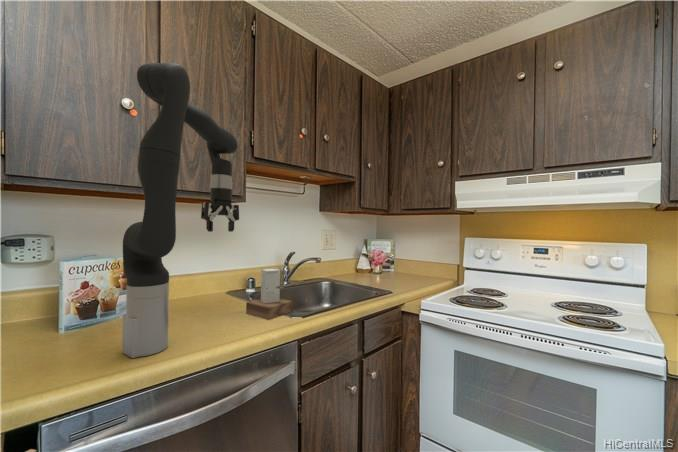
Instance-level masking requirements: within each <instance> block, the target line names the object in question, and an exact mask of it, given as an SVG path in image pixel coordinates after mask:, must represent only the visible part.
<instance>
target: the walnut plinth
mask: <svg viewBox="0 0 678 452" xmlns="http://www.w3.org/2000/svg"><path fill="white" fill-rule="evenodd" d="M293 302H294V301H293V300H290V299H285V298H281V297H280V298H279V302H273V303H266V304H264V303H263V302H261V298H259V299H255V300H252V301H251V300H250V301H247V302H246V303H245V304H246V305H245V307H246V309H245V310H246V311H245V314H247V315H251V316H254V317H258V318H260V319H265V320H272V319H275V318H277V317H280V316H283V315H287V314H289V313H288V312H290V313H293V311H294V310H293V308H294V307H293V305H294V303H293Z"/></svg>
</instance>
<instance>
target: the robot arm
mask: <svg viewBox="0 0 678 452" xmlns="http://www.w3.org/2000/svg"><path fill="white" fill-rule="evenodd" d="M136 78H137V79H136V80H137V84H138V85H139V88H140V89H141V91H142V92H143V94H145V96H147V97H148V98H149V99H150V100H152V101H153V102H154V103H156V104H158V105H160V106H161V109H160V111H159V114H158V116H157V117H156V119H155V121H154V122H153V123H152V124H151V126H150V127H149V129H147V131H146V133H145V134H144V136H143V137H142V139H141V141H140V144H139V149H138V160H137V172H138V173H137V174H138V178H139V182H140V185H141V187H142V192H143V195H144V209H143V210H144V211H143V217H142V221H139V222H135V223H132V224H131V225H129V227H128V228H127V229H126V230H125V231H124V233H123V238H122V269H123V274H124V276H125V279H126V295H125V296H126V299H125V300H126V303H125V304H126V306H125V310H126V311H125V314H123V315H122V332H121V334H122V336H121V338H122V339H121V344H122V346H121V348H122V349H121V350H122V351H121V353H122V354H124V355H126V356H127V357H129V358H130V359H135V358H139V357H145V356H146V357H147V356H151V355H155V354H158V353H160V352H162V351H164V350H166V349H167V348H168V347H169V312H170V310H169V308H170V307H169V303H170V302H169V301H170V296H169V295H170V272H169V271H168V269H167V268H166V267H165V265H164V264H163V262H162V261H163V260H162V258H163V257H166V256H167V255H169V254H170V253H171V252H172V250H173V249H174V247H175V244H176V238H177V236H176V235H177V226H176V225H177V224H176V221H177V219H176V202H177V193H178V180H179V172H180V164H181V163H180V162H181V149H182V148H181V147H182V140H183V133H184V132H183V131H184V124H186V125H188V126H189V127H190V128H191V129H192V130H193V131H194V132H195V133H197V135H198V136H200V137H201V138H202V139H203V140H204V141H205V142H206V148H207V151H208V154H209V158H210V163H211V177H210V195H209V196H210V202H205V201H204V202H202V203H201V211H200V212H201V213H200V214H201V215H200V218H201V220H205V222H206V229H205V230H207V233H209V232H213V231H214V221H213V220H214V219H215V218H216V217H217V216H224V217H225V218H226V219H227V220H228V222H227V223H228V225H227V228H228V229H227V231H228V233H229V232H234V230H235V222H236V221H239V220H240V206H239V204H232V202H233V201H232V200H233V177H232V176H233V165H232V162H231V161H230V160H228V159H224V158H222V157H221V158H220V156H221V155H229V154H233V153H235V152H237V150H238V147H239V146H238V140H237V138H236V137H235V136H234V135H233V133H231V132H230V131H228V130H226V129H225V128H224V127H222V126H220V125H219V124H218V123H217V122H216V121H215V120H214V119H213V118H212V116H210V114H209V113H208V112H206V111H204V109H201V108H200V107H198V106H196V105H194V104H193V103H190V102H189V100H190V95H191V81H190V77H189V74H188V72H187V70H186V69H185V67H184V66H182V65H181V64H178V63H175V62H150V63H144V64H141V65H140V66H139V67H138V69H137V72H136ZM219 154H220V155H219ZM210 209H211V210H210ZM209 210H210V211H209Z"/></svg>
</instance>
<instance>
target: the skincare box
mask: <svg viewBox="0 0 678 452" xmlns="http://www.w3.org/2000/svg"><path fill="white" fill-rule="evenodd" d="M260 278H261V279H260V280H261V281H260V299H261V302H263V303H264V304H266V303H273V302H279V298H281V297H280V294H281V293H280V292H281V291H280V290H281V285H280V284H281V269H279V268H263V269H261V277H260Z"/></svg>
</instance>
